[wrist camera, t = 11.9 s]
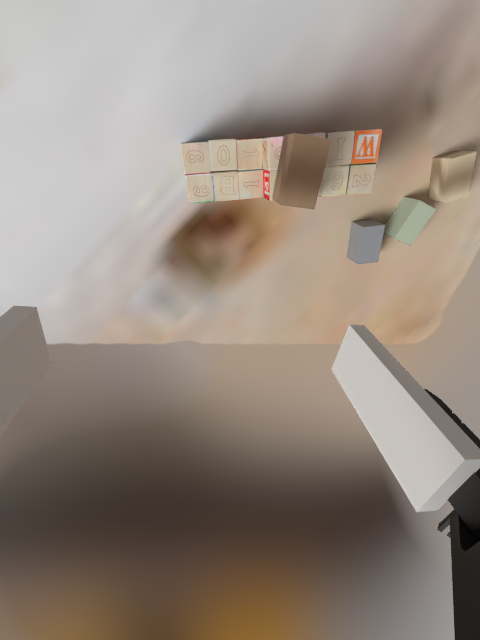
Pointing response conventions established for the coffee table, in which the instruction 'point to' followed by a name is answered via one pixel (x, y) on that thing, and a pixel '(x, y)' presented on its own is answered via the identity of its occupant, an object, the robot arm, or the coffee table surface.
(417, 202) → the sage brick
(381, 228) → the grey brick
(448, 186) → the maple brick
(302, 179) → the walnut brick
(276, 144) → the stack of blocks
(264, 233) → the coffee table surface
